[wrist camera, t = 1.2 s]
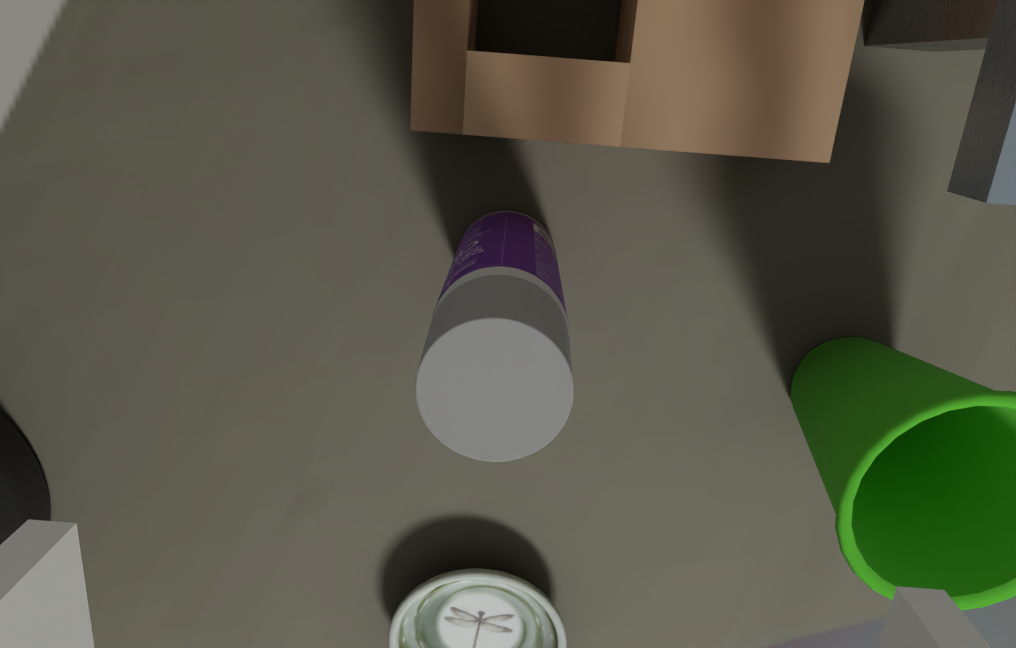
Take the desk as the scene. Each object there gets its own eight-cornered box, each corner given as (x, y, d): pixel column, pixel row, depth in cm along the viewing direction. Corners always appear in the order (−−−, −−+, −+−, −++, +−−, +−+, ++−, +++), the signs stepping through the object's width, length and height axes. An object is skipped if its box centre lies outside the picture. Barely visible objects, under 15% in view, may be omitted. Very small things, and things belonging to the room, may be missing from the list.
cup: (968, 394, 36) (1146, 525, 26) (811, 494, 38) (917, 652, 28) (875, 258, 34) (1028, 341, 24) (713, 371, 36) (789, 494, 26)
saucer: (402, 682, 43) (395, 716, 41) (388, 545, 40) (380, 574, 38) (565, 681, 43) (567, 716, 41) (564, 543, 40) (566, 572, 38)
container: (469, 199, 34) (428, 294, 19) (567, 223, 34) (598, 334, 20) (447, 294, 35) (396, 446, 21) (542, 316, 35) (554, 481, 21)
